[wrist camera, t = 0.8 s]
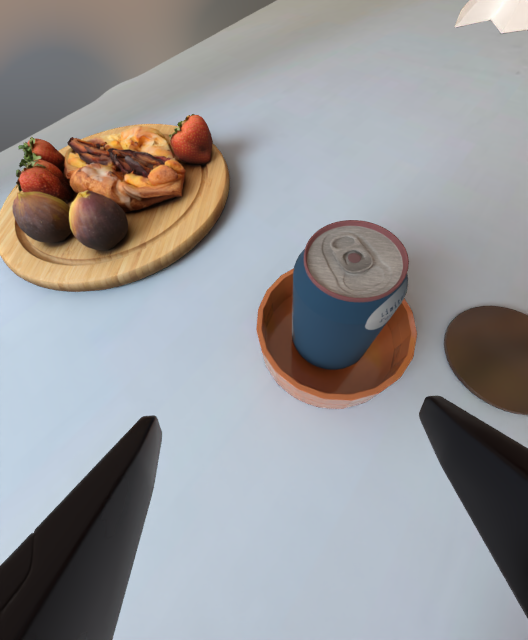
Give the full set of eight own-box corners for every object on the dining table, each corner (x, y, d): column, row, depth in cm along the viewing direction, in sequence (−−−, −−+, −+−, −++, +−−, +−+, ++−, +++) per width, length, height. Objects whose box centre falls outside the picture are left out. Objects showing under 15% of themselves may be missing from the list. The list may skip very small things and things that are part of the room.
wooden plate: (220, 123, 45) (207, 59, 38) (246, 267, 31) (232, 208, 23) (38, 158, 45) (-11, 101, 38) (-24, 319, 31) (-122, 277, 23)
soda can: (379, 358, 24) (449, 282, 14) (309, 384, 24) (325, 328, 13) (343, 298, 27) (378, 199, 17) (281, 321, 27) (275, 233, 16)
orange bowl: (427, 357, 24) (453, 339, 20) (313, 439, 22) (318, 436, 18) (337, 266, 30) (344, 239, 26) (238, 324, 27) (230, 304, 24)
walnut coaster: (599, 371, 22) (604, 370, 22) (519, 440, 21) (523, 440, 20) (493, 290, 27) (496, 288, 26) (420, 342, 25) (422, 340, 25)
